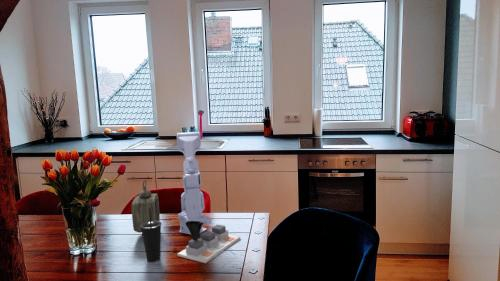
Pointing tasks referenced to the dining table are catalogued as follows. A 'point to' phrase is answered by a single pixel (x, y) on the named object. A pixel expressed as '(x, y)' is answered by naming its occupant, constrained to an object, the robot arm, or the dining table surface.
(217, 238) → the button board
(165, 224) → the dining table surface
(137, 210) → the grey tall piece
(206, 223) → the robot arm
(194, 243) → the button near
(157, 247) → the drinking cup
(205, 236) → the button middle
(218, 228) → the button far
